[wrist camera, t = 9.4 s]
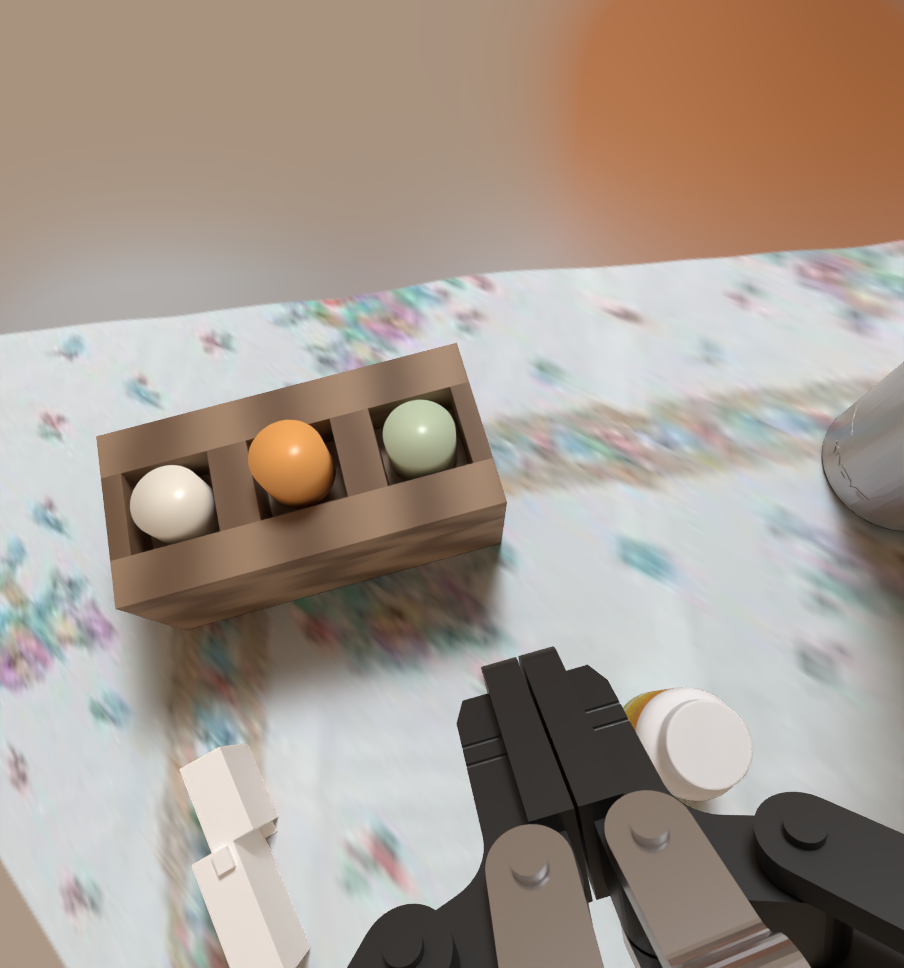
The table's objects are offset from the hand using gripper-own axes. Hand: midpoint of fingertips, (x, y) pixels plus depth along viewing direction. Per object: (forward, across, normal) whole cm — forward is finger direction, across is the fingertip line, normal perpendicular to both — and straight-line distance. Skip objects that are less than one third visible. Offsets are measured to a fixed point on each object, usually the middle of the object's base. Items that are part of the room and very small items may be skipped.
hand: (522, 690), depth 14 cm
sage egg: (+27, 0, +6) cm, 28 cm away
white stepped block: (+19, +15, +24) cm, 34 cm away
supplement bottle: (+18, -9, +24) cm, 32 cm away
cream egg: (+27, +14, +6) cm, 31 cm away
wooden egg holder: (+32, +7, +11) cm, 34 cm away
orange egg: (+26, +7, +5) cm, 27 cm away
